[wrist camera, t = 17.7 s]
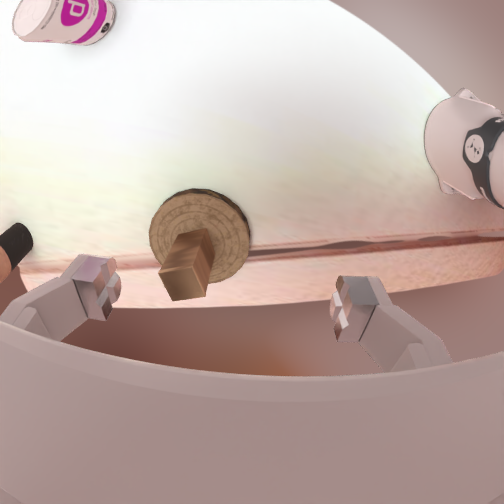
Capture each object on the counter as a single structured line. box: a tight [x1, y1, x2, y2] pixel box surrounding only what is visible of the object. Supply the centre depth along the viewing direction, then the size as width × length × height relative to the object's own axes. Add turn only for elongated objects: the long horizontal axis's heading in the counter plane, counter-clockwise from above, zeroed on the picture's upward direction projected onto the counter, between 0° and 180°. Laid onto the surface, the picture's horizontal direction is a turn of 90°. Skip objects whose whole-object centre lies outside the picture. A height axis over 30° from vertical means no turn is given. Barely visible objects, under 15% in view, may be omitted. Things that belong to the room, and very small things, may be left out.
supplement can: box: [12, 0, 115, 45], centre depth 19 cm, size 8×8×15 cm
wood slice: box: [149, 189, 250, 284], centre depth 44 cm, size 16×16×3 cm
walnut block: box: [158, 228, 215, 301], centre depth 38 cm, size 5×5×10 cm
